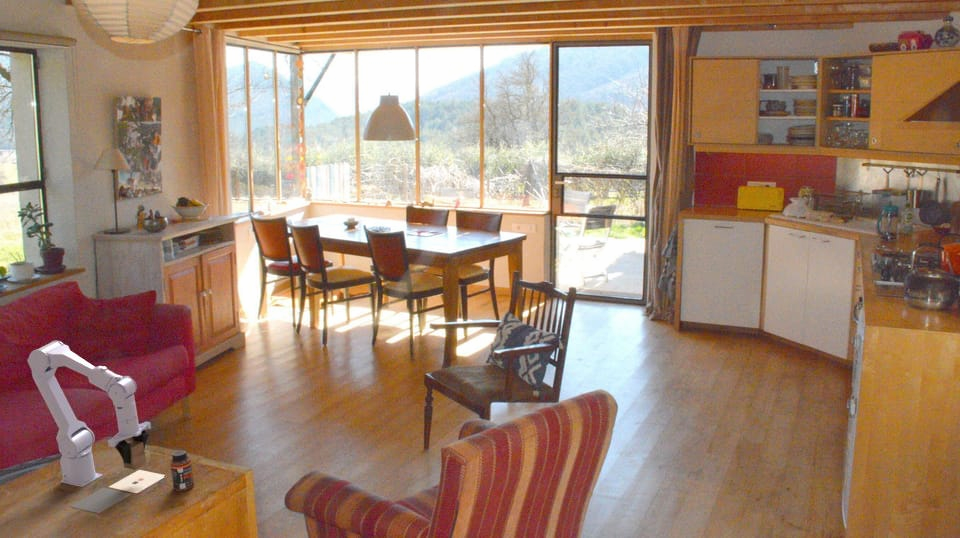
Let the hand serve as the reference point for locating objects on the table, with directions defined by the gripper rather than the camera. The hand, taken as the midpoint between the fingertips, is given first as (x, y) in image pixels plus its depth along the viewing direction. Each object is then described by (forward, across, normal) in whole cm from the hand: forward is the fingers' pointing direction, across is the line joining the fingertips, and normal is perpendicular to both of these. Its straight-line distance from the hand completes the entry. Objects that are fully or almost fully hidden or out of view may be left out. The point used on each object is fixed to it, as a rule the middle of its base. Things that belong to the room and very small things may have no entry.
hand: (134, 459), depth 268 cm
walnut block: (+2, 0, 0) cm, 2 cm away
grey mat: (+7, -13, +1) cm, 15 cm away
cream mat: (+7, 0, 0) cm, 7 cm away
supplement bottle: (+8, +2, -17) cm, 19 cm away
